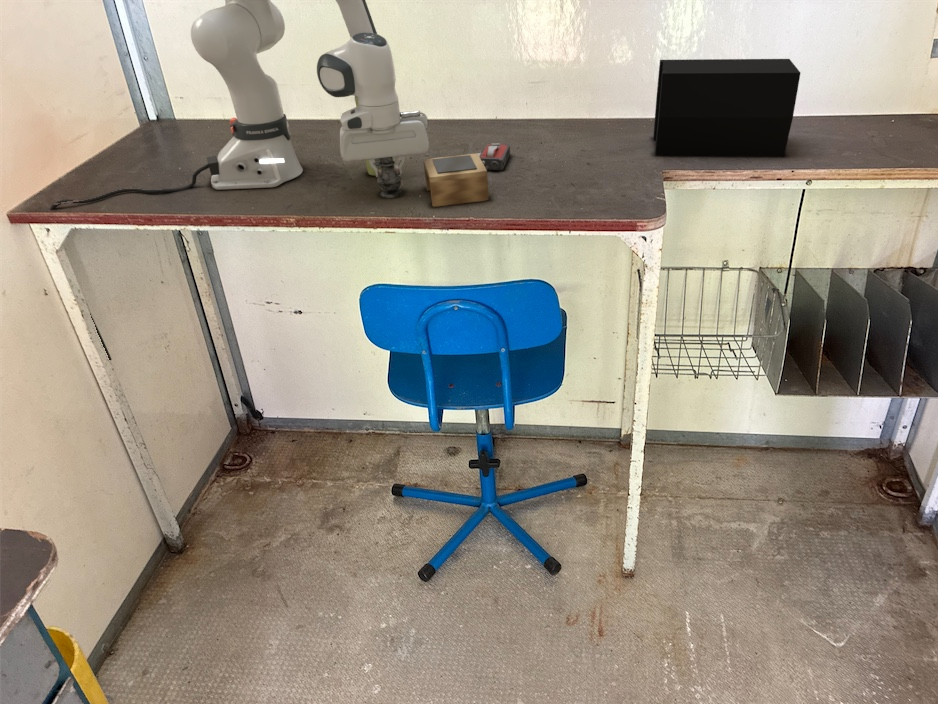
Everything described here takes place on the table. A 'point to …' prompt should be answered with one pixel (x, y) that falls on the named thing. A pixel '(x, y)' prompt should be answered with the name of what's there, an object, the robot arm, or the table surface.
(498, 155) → the walkie-talkie
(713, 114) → the uninterruptible power supply
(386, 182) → the chess piece
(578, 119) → the table surface
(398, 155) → the robot arm
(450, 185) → the stand
